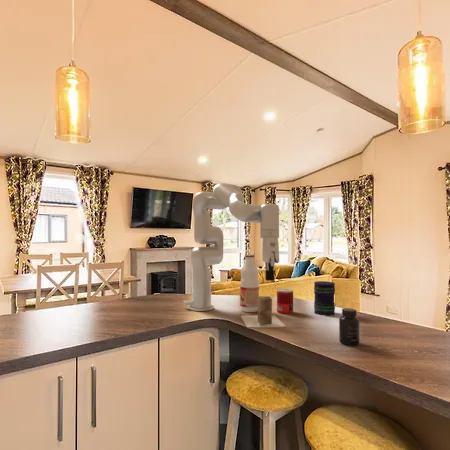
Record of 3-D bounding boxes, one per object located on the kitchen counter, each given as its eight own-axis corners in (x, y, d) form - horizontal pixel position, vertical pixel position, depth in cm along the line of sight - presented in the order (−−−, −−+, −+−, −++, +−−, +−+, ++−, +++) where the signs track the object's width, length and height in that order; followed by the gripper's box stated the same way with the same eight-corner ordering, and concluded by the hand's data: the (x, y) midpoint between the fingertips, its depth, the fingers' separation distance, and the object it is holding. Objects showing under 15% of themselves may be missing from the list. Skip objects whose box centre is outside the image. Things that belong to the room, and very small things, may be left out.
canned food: (293, 314, 154) (293, 291, 154) (276, 313, 156) (276, 290, 156) (293, 310, 161) (293, 289, 162) (277, 310, 163) (277, 288, 163)
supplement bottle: (335, 340, 117) (335, 307, 117) (353, 340, 117) (353, 307, 118) (344, 347, 110) (344, 311, 110) (363, 346, 111) (363, 311, 111)
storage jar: (327, 316, 150) (327, 284, 151) (309, 312, 158) (310, 282, 158) (338, 313, 157) (338, 283, 157) (321, 309, 164) (321, 280, 165)
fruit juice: (254, 313, 155) (255, 255, 156) (236, 311, 160) (237, 255, 160) (261, 309, 164) (261, 254, 165) (244, 307, 168) (244, 254, 169)
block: (260, 325, 133) (260, 299, 134) (257, 322, 138) (257, 296, 139) (271, 325, 134) (271, 298, 134) (268, 322, 139) (269, 296, 139)
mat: (247, 327, 131) (247, 326, 131) (241, 316, 149) (241, 315, 149) (285, 327, 133) (285, 326, 133) (274, 316, 151) (274, 315, 151)
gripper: (284, 234, 122) (284, 282, 121) (274, 234, 137) (274, 277, 136) (264, 234, 121) (264, 283, 121) (256, 234, 136) (256, 278, 136)
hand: (269, 280), depth 128 cm, fingers closed
